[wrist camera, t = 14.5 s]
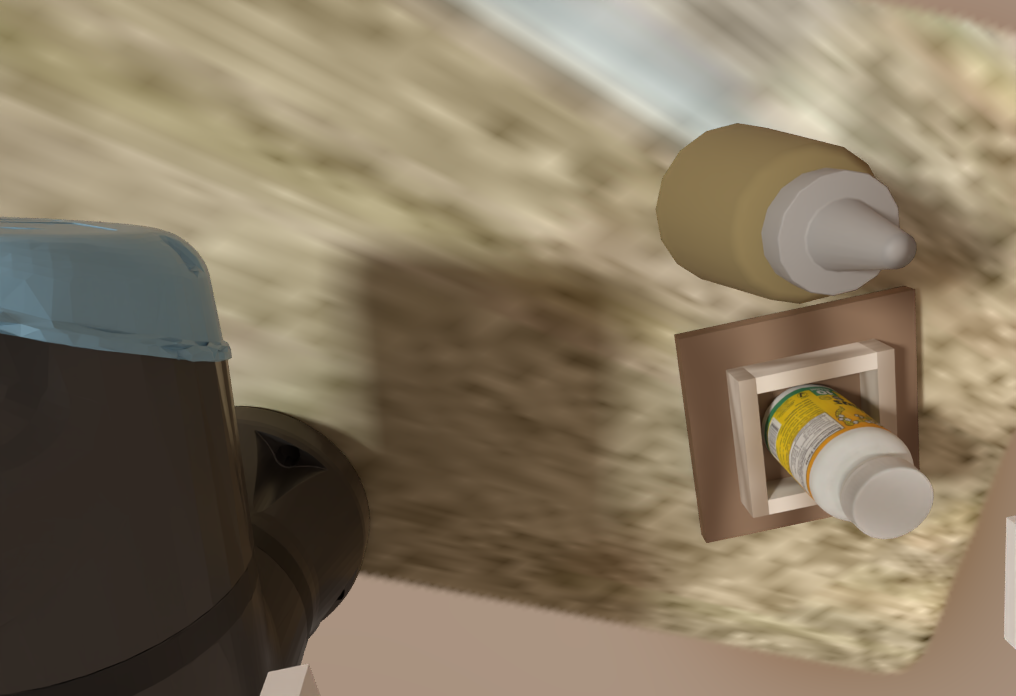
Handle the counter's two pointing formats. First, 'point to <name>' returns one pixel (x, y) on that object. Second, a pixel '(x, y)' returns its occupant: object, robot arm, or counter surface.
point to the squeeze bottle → (778, 215)
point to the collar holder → (772, 370)
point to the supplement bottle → (847, 461)
